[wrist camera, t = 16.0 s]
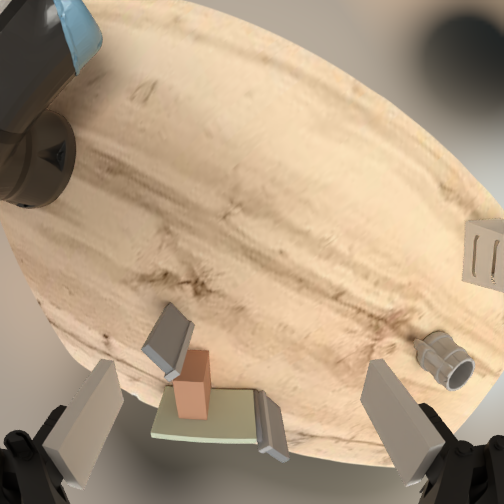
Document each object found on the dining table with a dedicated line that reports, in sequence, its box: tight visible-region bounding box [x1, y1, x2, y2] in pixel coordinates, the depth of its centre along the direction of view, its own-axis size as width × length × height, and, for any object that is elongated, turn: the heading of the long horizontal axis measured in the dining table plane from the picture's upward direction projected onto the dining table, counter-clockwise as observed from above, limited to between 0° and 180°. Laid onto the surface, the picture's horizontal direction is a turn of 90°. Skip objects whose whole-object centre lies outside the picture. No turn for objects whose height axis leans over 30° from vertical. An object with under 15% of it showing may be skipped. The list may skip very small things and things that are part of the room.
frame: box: [141, 303, 290, 463], centre depth 37 cm, size 26×2×12 cm, turn 39°
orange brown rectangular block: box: [173, 350, 211, 420], centre depth 39 cm, size 7×4×8 cm, turn 179°
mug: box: [413, 331, 475, 391], centre depth 39 cm, size 8×12×12 cm, turn 61°
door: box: [151, 386, 263, 443], centre depth 38 cm, size 15×2×11 cm, turn 89°
